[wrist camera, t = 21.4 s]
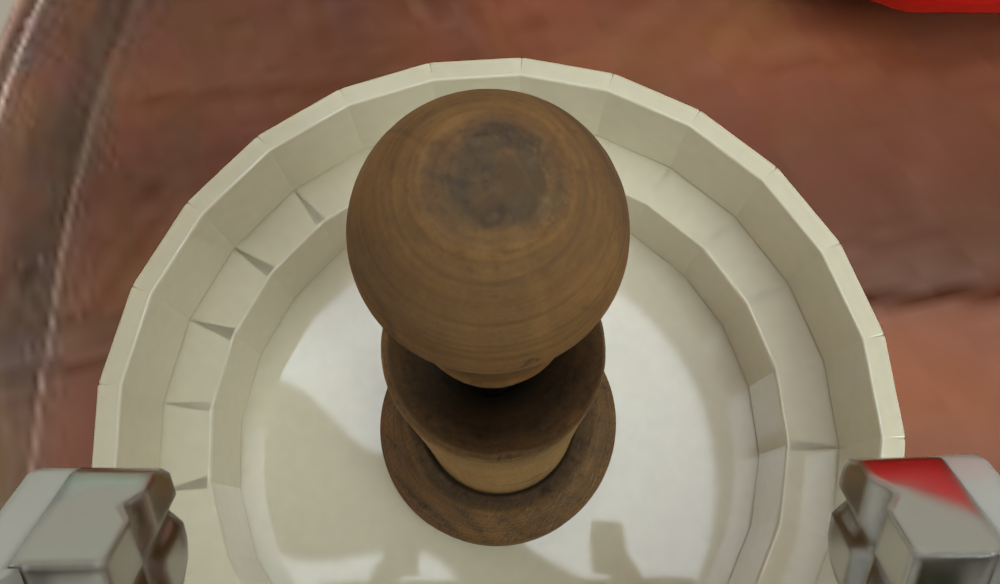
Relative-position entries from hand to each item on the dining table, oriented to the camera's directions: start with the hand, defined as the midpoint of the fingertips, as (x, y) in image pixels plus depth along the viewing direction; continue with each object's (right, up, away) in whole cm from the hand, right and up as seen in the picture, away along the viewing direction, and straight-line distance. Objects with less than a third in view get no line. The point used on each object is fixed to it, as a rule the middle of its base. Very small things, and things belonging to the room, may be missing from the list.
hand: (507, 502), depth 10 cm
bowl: (0, -2, +15) cm, 15 cm away
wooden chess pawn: (0, -2, +15) cm, 15 cm away
